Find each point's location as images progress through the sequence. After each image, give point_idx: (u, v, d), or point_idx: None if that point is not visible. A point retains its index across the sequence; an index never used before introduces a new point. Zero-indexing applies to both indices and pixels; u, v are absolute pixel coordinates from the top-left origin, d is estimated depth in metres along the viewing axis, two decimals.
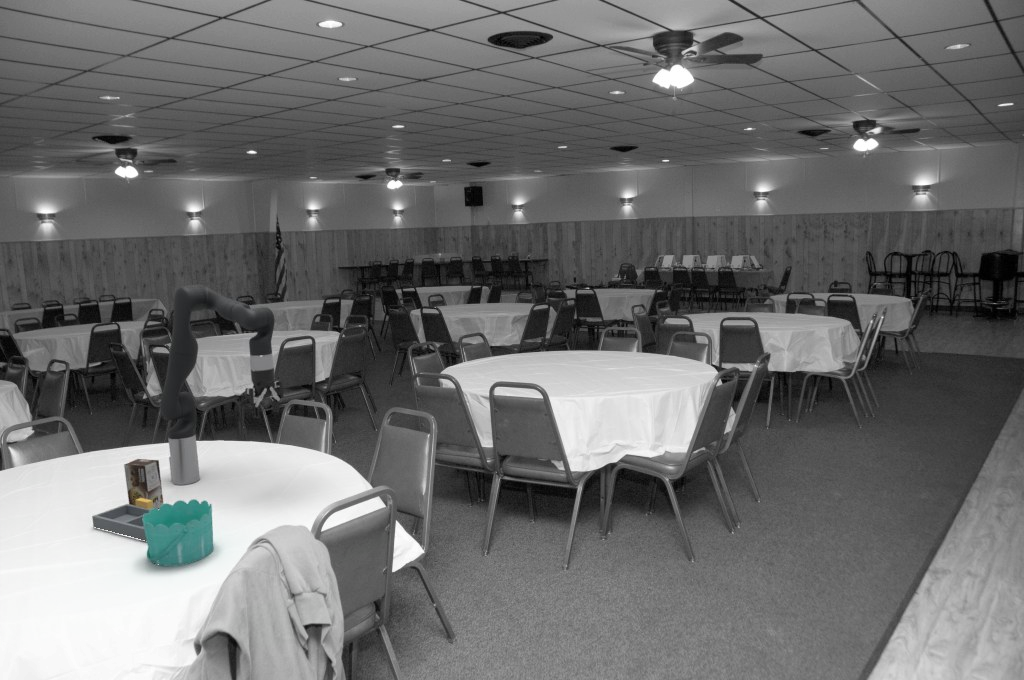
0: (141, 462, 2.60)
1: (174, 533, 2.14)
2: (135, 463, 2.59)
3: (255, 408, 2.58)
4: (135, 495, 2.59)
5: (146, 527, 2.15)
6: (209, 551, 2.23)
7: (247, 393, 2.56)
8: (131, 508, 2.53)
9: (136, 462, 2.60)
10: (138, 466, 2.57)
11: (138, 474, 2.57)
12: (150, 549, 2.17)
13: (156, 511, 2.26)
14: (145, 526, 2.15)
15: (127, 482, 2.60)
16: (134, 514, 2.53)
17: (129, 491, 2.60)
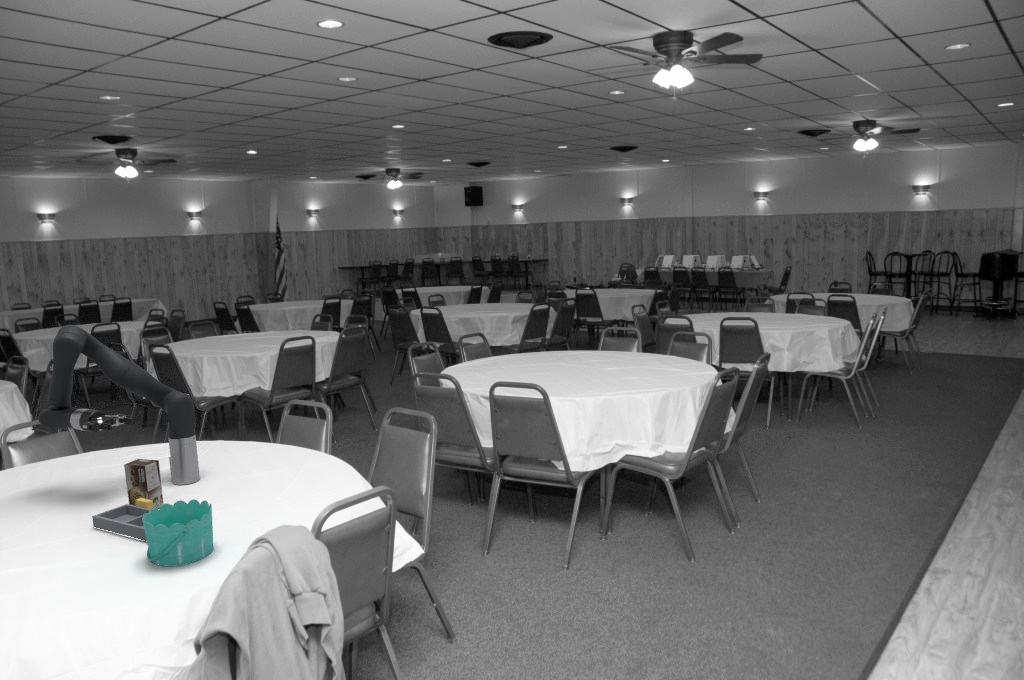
0: (141, 462, 2.60)
1: (174, 533, 2.14)
2: (135, 463, 2.59)
3: None
4: (135, 496, 2.59)
5: (146, 527, 2.15)
6: (209, 551, 2.23)
7: None
8: (131, 508, 2.53)
9: (136, 462, 2.60)
10: (138, 466, 2.57)
11: (138, 474, 2.57)
12: (150, 549, 2.17)
13: (156, 511, 2.26)
14: (145, 526, 2.15)
15: (127, 482, 2.60)
16: (134, 514, 2.53)
17: (129, 491, 2.60)
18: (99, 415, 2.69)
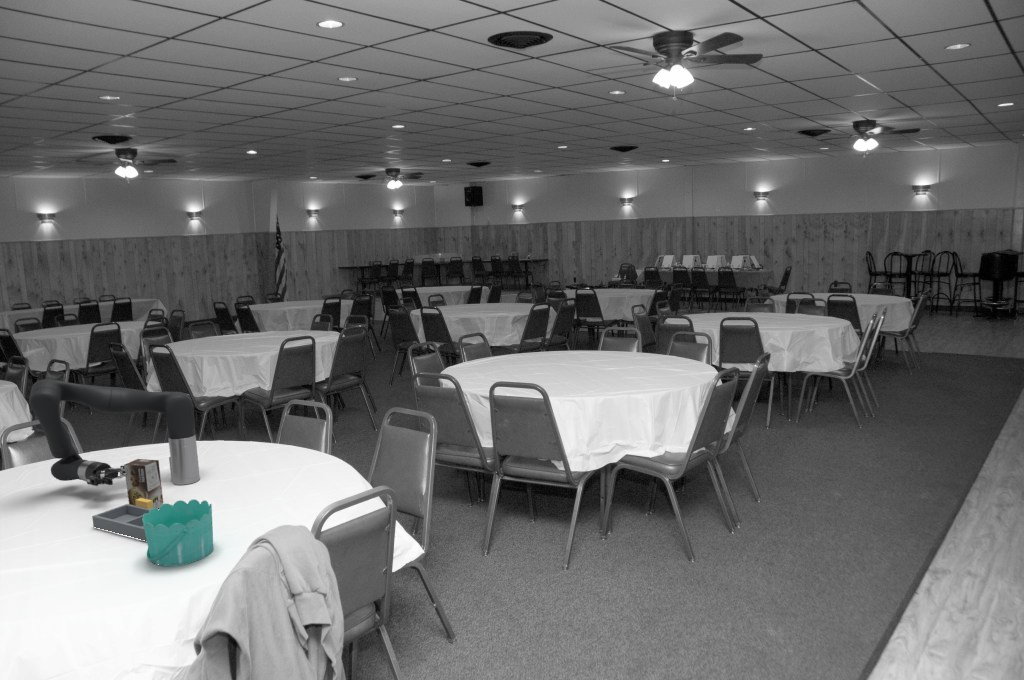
0: (141, 462, 2.60)
1: (174, 533, 2.14)
2: (135, 463, 2.59)
3: None
4: (135, 496, 2.59)
5: (146, 527, 2.15)
6: (209, 551, 2.23)
7: None
8: (131, 508, 2.53)
9: (136, 462, 2.60)
10: (138, 466, 2.57)
11: (138, 474, 2.57)
12: (150, 549, 2.17)
13: (156, 511, 2.26)
14: (145, 526, 2.15)
15: (127, 482, 2.60)
16: (134, 514, 2.53)
17: (129, 491, 2.60)
18: (104, 468, 2.73)
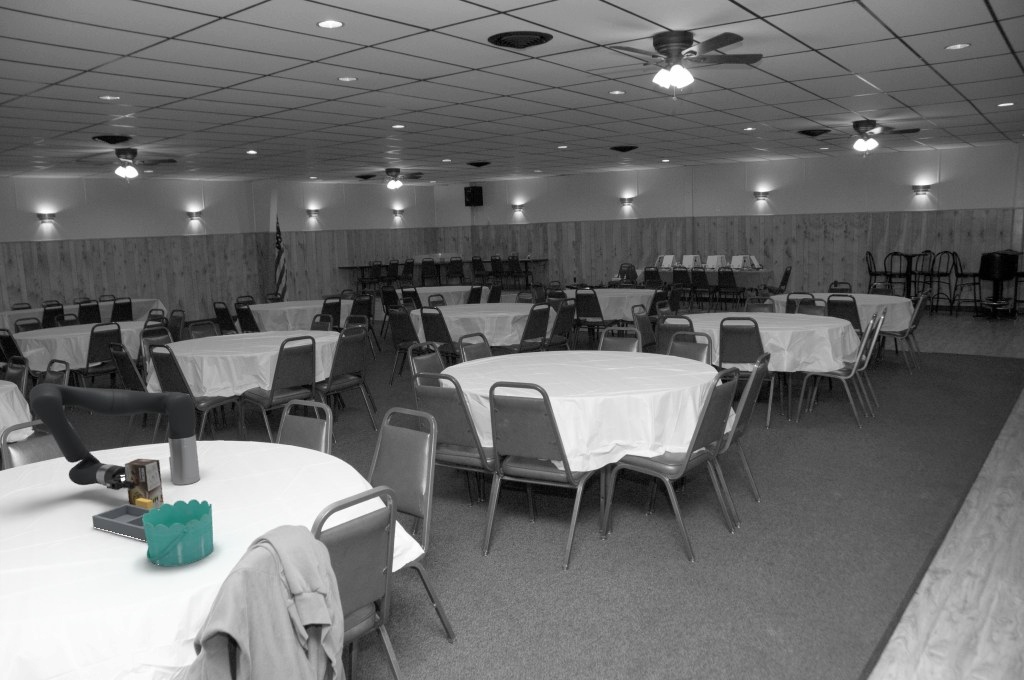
0: (142, 462, 2.60)
1: (174, 533, 2.14)
2: (136, 463, 2.59)
3: None
4: (135, 495, 2.59)
5: (146, 527, 2.15)
6: (209, 551, 2.23)
7: None
8: (131, 508, 2.53)
9: (137, 462, 2.60)
10: (139, 465, 2.57)
11: (139, 474, 2.57)
12: (150, 549, 2.17)
13: (156, 511, 2.26)
14: (145, 526, 2.15)
15: None
16: (134, 514, 2.53)
17: (129, 491, 2.60)
18: (123, 471, 2.67)
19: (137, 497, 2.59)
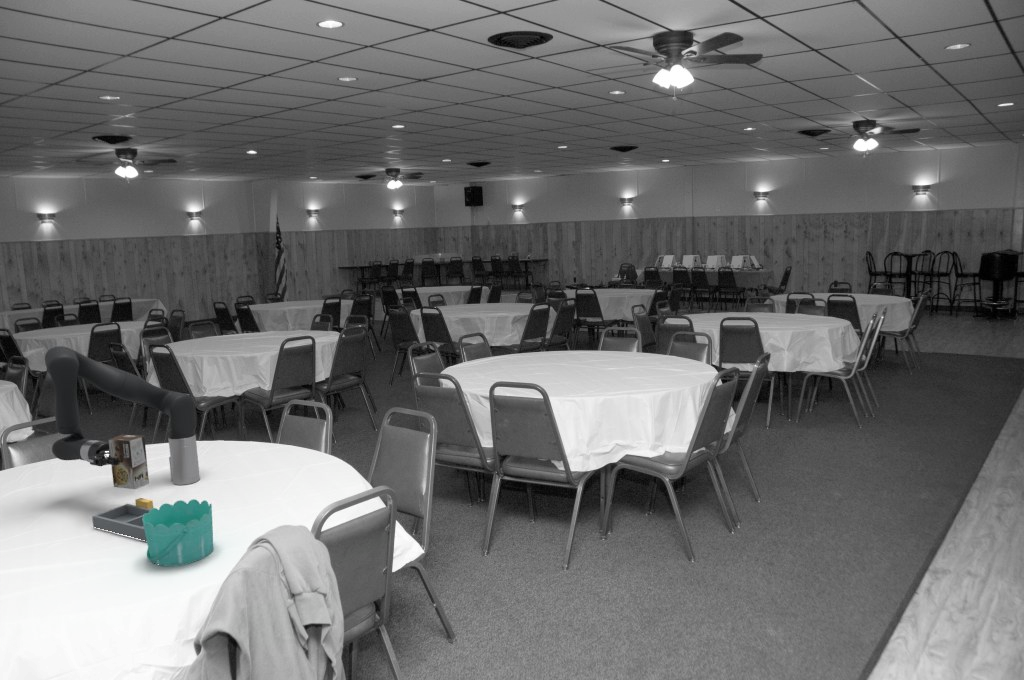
0: (126, 437, 2.51)
1: (174, 533, 2.14)
2: (120, 438, 2.50)
3: None
4: (119, 472, 2.50)
5: (146, 527, 2.15)
6: (209, 551, 2.23)
7: None
8: (131, 508, 2.53)
9: (121, 437, 2.51)
10: (123, 441, 2.48)
11: (123, 450, 2.48)
12: (150, 549, 2.17)
13: (156, 511, 2.26)
14: (145, 526, 2.15)
15: None
16: (134, 514, 2.53)
17: (113, 467, 2.51)
18: (108, 447, 2.58)
19: (121, 474, 2.50)
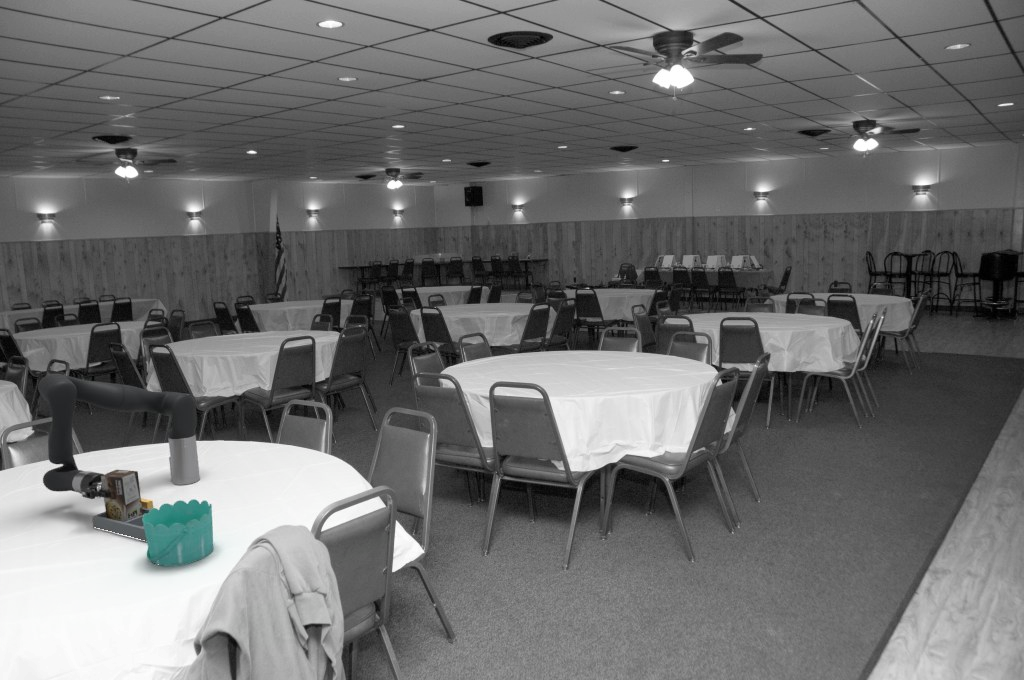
0: (119, 473, 2.45)
1: (174, 533, 2.14)
2: (112, 474, 2.44)
3: None
4: (113, 509, 2.44)
5: (146, 527, 2.15)
6: (209, 551, 2.23)
7: None
8: None
9: (114, 473, 2.45)
10: (115, 478, 2.42)
11: (116, 487, 2.42)
12: (150, 549, 2.17)
13: (156, 511, 2.26)
14: (145, 526, 2.15)
15: None
16: None
17: (106, 504, 2.45)
18: None
19: (114, 511, 2.44)
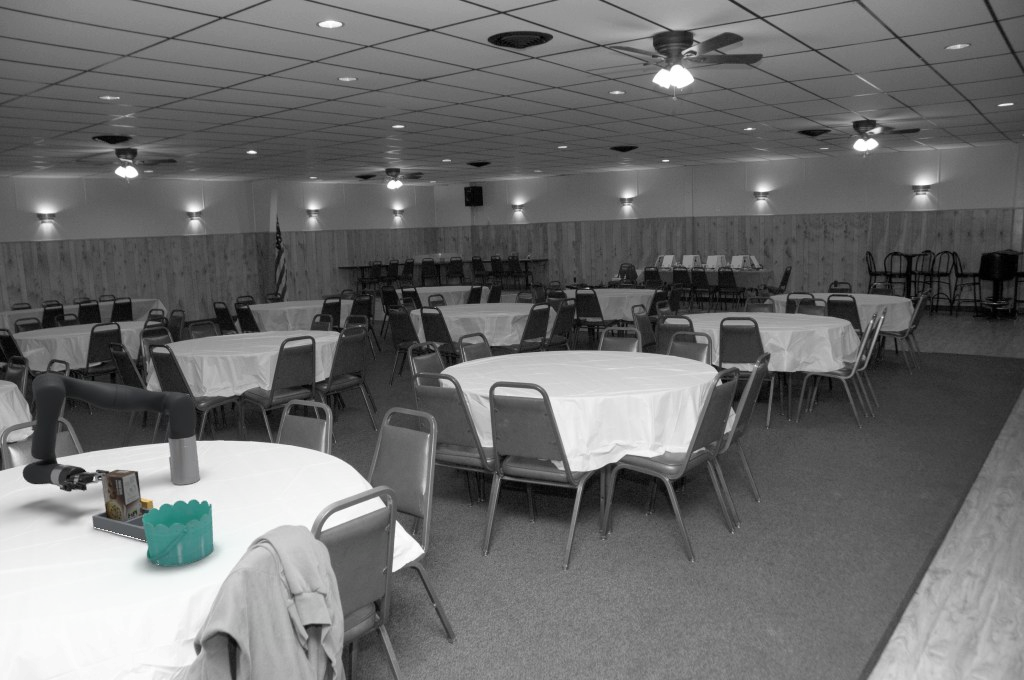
0: (119, 473, 2.45)
1: (174, 533, 2.14)
2: (113, 474, 2.44)
3: None
4: (113, 509, 2.44)
5: (146, 527, 2.15)
6: (209, 551, 2.23)
7: None
8: None
9: (114, 473, 2.45)
10: (115, 478, 2.42)
11: (116, 486, 2.42)
12: (150, 549, 2.17)
13: (156, 511, 2.26)
14: (145, 526, 2.15)
15: (104, 494, 2.45)
16: None
17: (106, 504, 2.45)
18: (78, 472, 2.59)
19: (114, 511, 2.44)
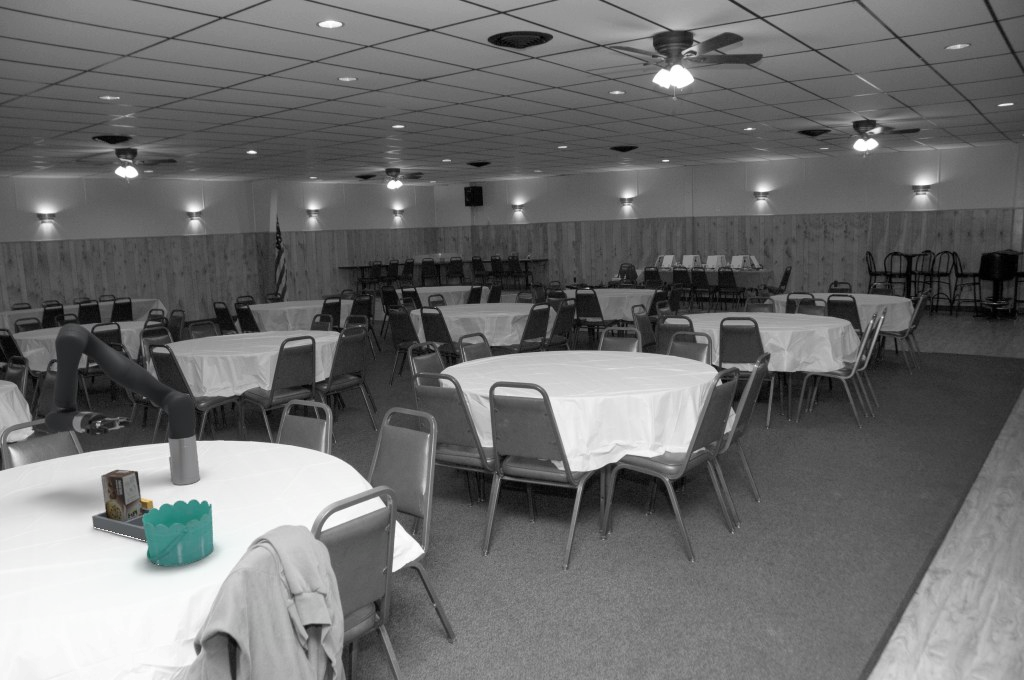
0: (119, 473, 2.45)
1: (174, 533, 2.14)
2: (113, 474, 2.44)
3: None
4: (113, 509, 2.44)
5: (146, 527, 2.15)
6: (209, 551, 2.23)
7: None
8: None
9: (114, 473, 2.45)
10: (115, 478, 2.42)
11: (116, 486, 2.42)
12: (150, 549, 2.17)
13: (156, 511, 2.26)
14: (145, 526, 2.15)
15: (104, 494, 2.45)
16: None
17: (106, 504, 2.45)
18: (100, 418, 2.65)
19: (114, 511, 2.44)
